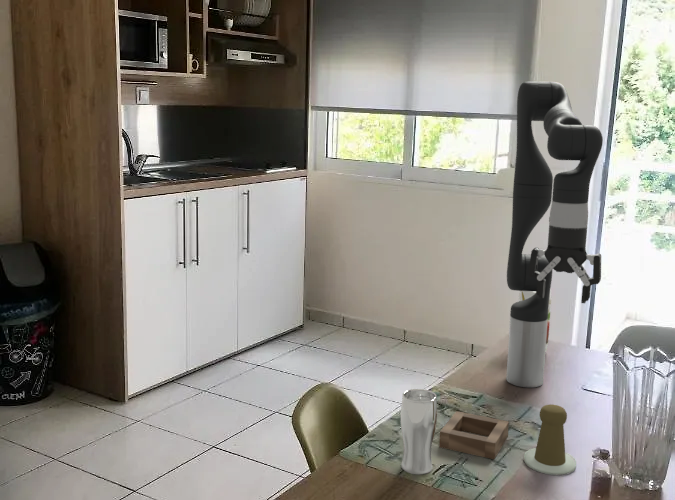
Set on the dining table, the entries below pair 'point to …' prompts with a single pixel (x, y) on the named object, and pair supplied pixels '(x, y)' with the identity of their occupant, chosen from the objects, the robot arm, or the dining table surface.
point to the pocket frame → (470, 442)
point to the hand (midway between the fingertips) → (562, 299)
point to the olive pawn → (551, 436)
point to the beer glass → (418, 429)
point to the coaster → (546, 469)
